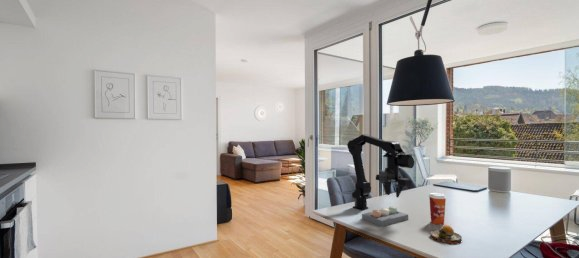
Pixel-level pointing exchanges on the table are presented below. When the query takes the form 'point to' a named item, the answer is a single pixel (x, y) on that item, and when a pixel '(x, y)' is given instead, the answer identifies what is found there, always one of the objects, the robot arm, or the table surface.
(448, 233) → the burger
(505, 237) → the table surface
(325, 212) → the table surface
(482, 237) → the table surface
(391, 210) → the sage button
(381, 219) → the grey flat board
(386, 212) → the cream button
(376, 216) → the pink button
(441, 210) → the paper cup
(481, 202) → the table surface
